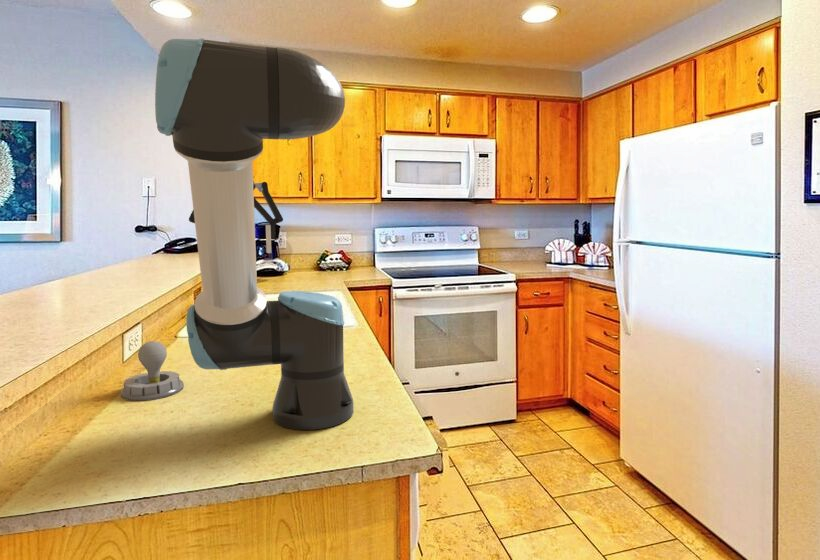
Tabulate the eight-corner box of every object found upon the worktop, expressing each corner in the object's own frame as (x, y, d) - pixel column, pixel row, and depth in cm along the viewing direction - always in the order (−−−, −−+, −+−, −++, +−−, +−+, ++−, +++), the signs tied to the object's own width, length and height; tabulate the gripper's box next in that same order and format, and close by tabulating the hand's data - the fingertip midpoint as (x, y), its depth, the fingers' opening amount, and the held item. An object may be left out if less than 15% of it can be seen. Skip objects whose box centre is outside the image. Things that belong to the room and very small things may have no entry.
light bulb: (161, 380, 111) (159, 336, 109) (173, 385, 107) (170, 340, 106) (136, 386, 106) (132, 341, 105) (147, 392, 103) (143, 346, 102)
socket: (183, 395, 103) (182, 383, 103) (117, 404, 99) (116, 392, 98) (183, 378, 114) (183, 367, 114) (124, 385, 110) (123, 374, 109)
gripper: (287, 163, 120) (290, 251, 122) (173, 158, 110) (179, 253, 112) (293, 160, 113) (296, 253, 116) (172, 154, 103) (178, 256, 106)
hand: (238, 253), depth 114 cm, fingers open, 13 cm apart
